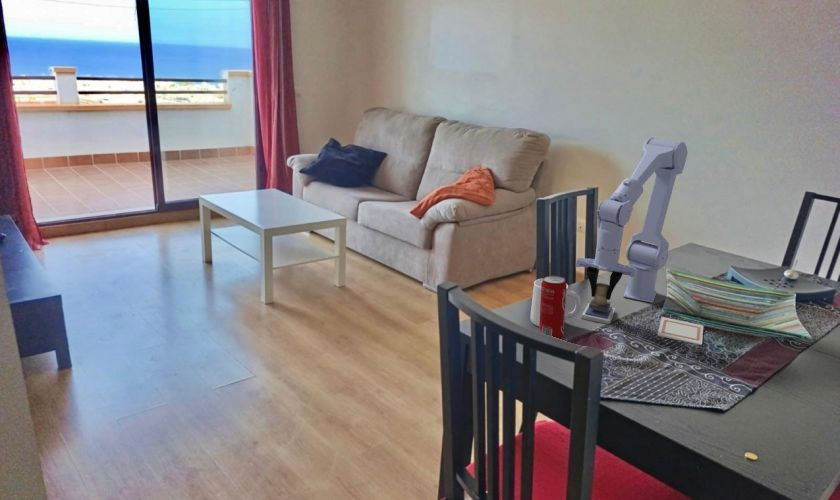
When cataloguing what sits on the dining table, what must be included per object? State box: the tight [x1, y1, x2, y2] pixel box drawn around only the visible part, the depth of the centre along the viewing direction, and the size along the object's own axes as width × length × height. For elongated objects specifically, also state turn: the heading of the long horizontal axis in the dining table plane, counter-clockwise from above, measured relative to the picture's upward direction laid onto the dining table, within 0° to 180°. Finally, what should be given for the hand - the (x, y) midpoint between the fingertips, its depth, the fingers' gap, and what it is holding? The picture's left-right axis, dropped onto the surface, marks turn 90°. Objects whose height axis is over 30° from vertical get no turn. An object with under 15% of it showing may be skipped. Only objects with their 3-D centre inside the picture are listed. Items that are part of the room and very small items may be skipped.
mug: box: [529, 277, 582, 327], centre depth 151 cm, size 12×8×10 cm
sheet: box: [656, 316, 704, 346], centre depth 151 cm, size 12×10×1 cm
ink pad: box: [581, 302, 616, 325], centre depth 158 cm, size 9×7×1 cm
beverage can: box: [538, 275, 568, 340], centre depth 142 cm, size 6×6×15 cm
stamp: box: [589, 282, 611, 312], centre depth 156 cm, size 4×4×6 cm
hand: (600, 297), depth 157 cm, fingers closed on stamp, 3 cm apart
